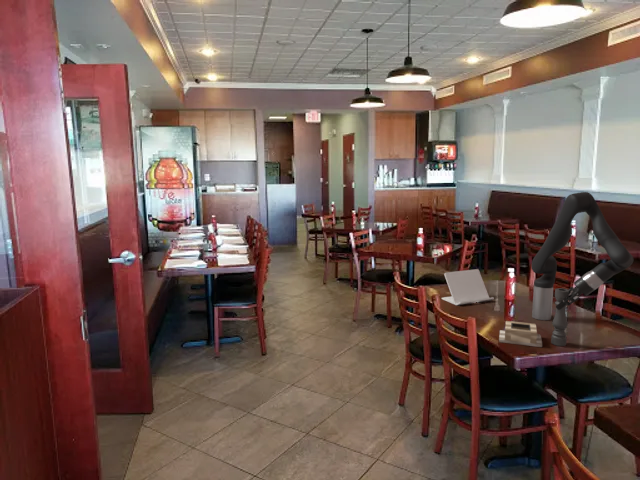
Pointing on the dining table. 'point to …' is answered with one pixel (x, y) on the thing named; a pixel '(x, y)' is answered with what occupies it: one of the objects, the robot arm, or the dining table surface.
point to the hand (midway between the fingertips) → (556, 306)
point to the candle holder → (560, 319)
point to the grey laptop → (466, 287)
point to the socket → (520, 334)
